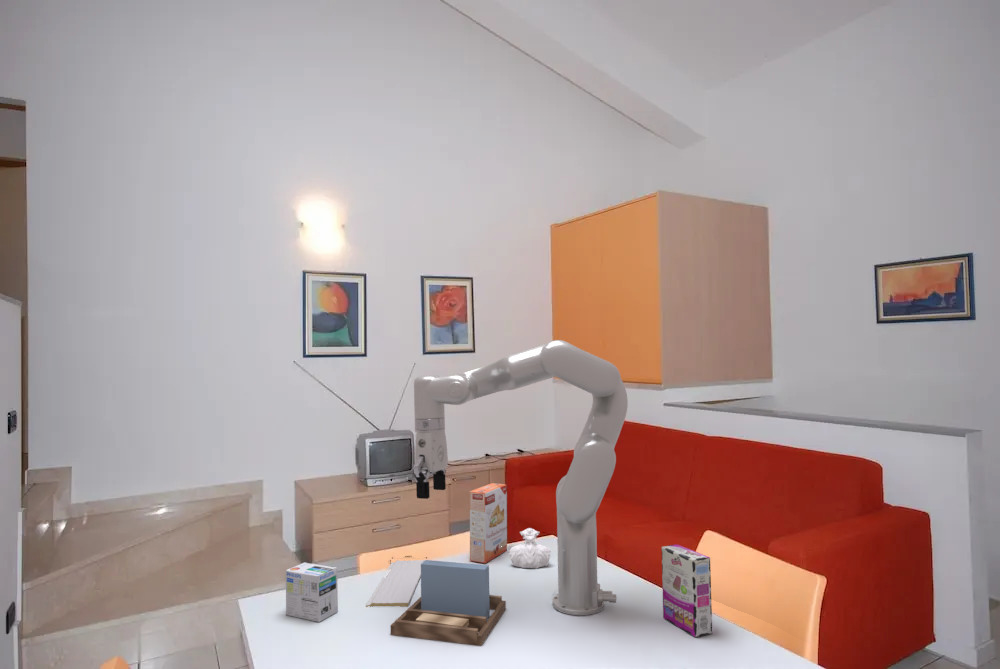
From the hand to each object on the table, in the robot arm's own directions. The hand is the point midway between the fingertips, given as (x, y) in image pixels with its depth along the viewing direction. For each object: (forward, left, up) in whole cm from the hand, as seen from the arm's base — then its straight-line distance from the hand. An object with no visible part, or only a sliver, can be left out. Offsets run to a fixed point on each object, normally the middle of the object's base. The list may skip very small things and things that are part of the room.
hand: (431, 493), depth 150 cm
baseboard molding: (+15, -10, -28) cm, 33 cm away
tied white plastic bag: (-17, -32, -27) cm, 45 cm away
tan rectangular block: (-8, +15, -27) cm, 32 cm away
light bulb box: (+26, +13, -27) cm, 40 cm away
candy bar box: (-60, -2, -27) cm, 66 cm away
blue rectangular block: (-8, +6, -27) cm, 29 cm away
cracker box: (-3, -37, -27) cm, 46 cm away
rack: (-8, +8, -27) cm, 29 cm away
